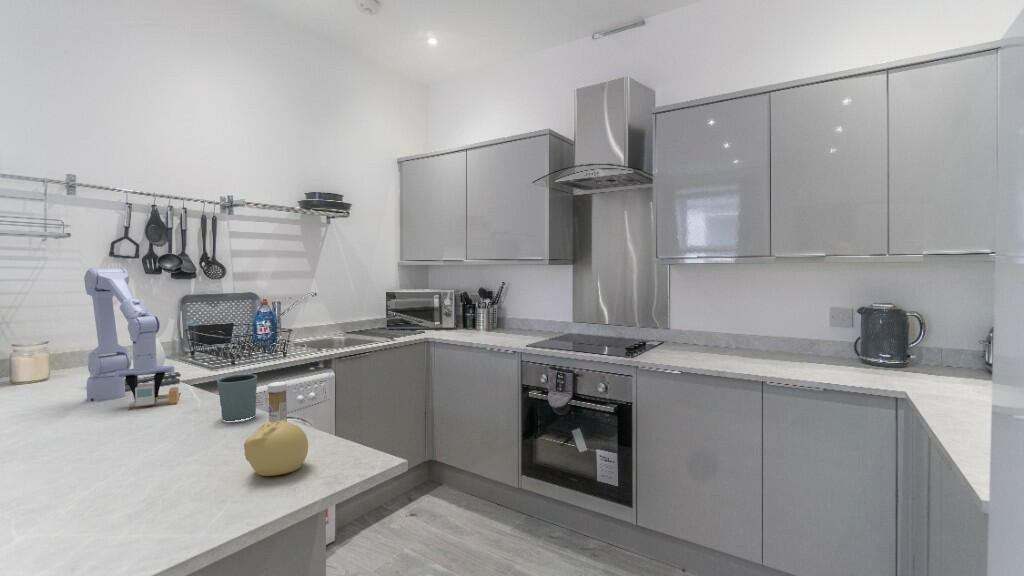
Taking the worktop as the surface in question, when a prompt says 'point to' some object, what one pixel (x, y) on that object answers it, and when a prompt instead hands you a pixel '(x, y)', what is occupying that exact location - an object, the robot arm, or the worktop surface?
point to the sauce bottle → (159, 354)
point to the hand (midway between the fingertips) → (146, 397)
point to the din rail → (171, 400)
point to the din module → (145, 394)
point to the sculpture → (276, 448)
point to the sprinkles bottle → (277, 401)
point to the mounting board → (155, 405)
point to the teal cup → (237, 396)
